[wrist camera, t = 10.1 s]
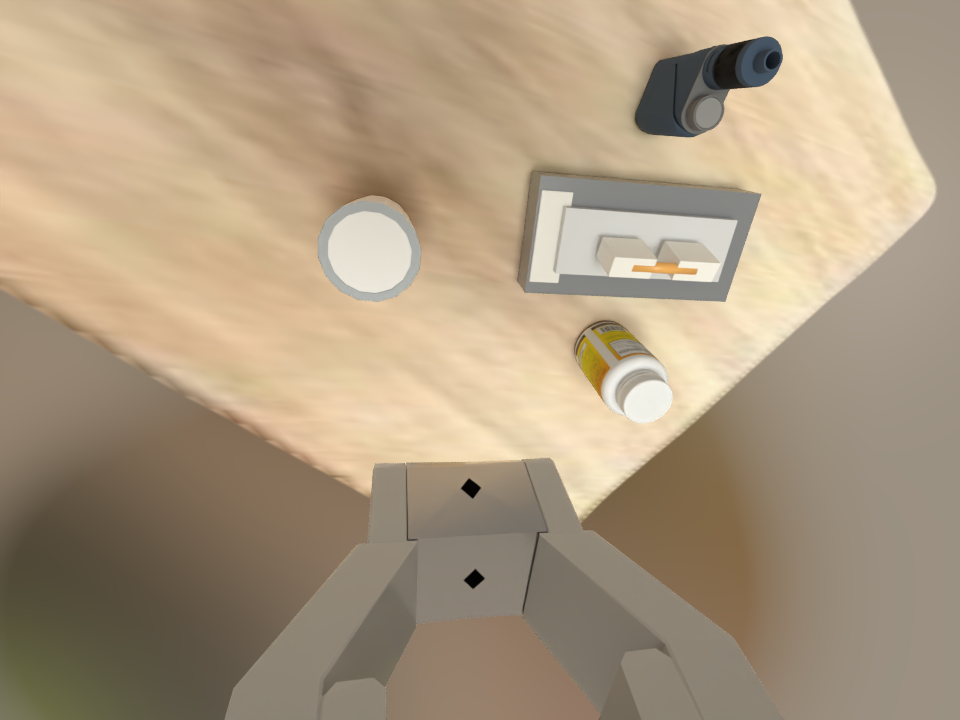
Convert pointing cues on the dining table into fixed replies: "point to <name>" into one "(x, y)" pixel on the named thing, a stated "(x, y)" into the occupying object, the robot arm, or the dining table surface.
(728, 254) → the panel
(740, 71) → the vaping device
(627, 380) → the supplement bottle
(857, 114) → the dining table surface
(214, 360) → the dining table surface
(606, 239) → the double breaker paddle
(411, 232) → the white cylinder
